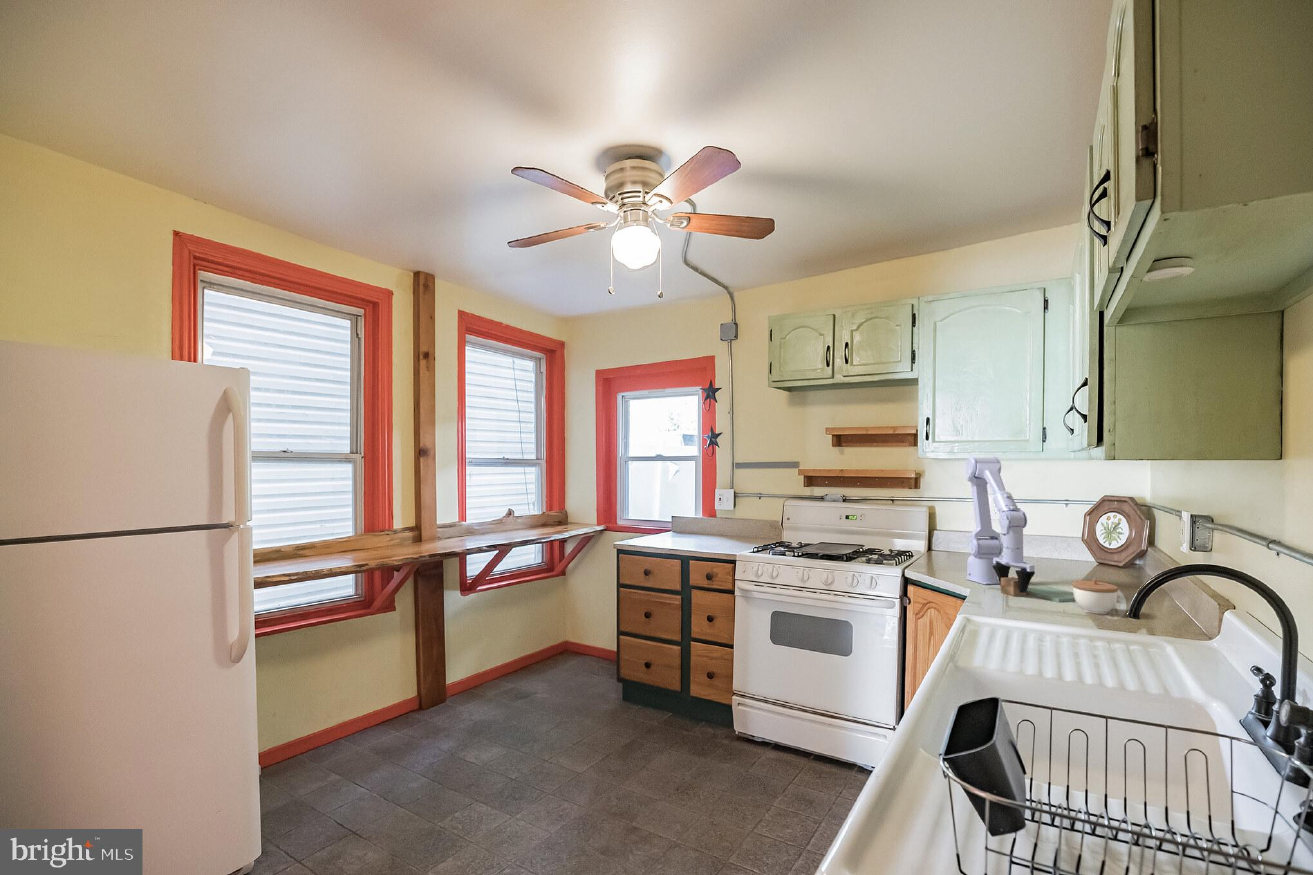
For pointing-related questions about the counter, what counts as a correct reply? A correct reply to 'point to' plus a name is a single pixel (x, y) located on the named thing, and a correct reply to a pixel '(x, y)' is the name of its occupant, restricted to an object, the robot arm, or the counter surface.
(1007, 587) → the walnut block
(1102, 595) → the lidded jar
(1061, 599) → the sage board
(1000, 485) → the robot arm
